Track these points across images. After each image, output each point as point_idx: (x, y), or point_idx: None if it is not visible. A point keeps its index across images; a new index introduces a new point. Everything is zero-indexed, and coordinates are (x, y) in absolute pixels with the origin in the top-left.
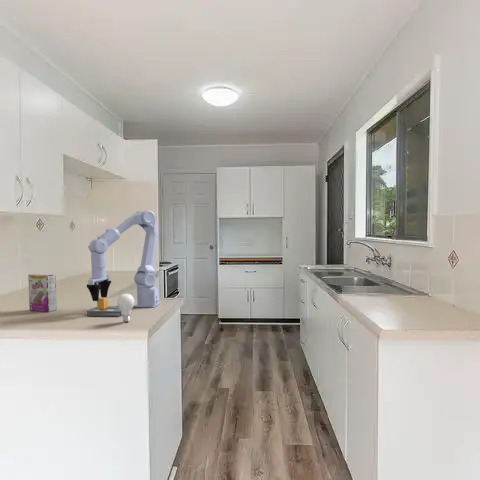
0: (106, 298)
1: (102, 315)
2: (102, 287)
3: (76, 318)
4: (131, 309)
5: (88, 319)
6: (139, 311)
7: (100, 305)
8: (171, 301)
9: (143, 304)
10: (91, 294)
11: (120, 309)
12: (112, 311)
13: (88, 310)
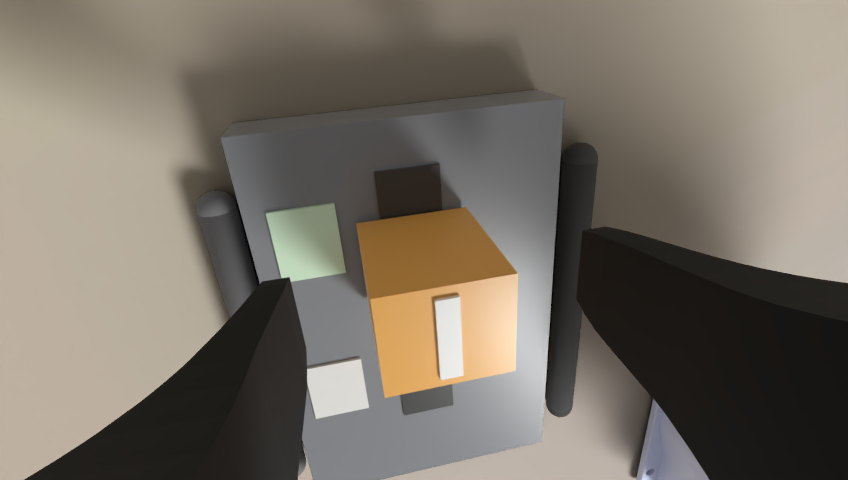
0: (478, 369)
1: None
2: (724, 367)
3: (38, 72)
4: (548, 407)
5: (69, 266)
6: (507, 468)
7: (366, 289)
8: None
9: (670, 438)
10: (202, 363)
11: (394, 446)
12: None
13: (263, 141)
